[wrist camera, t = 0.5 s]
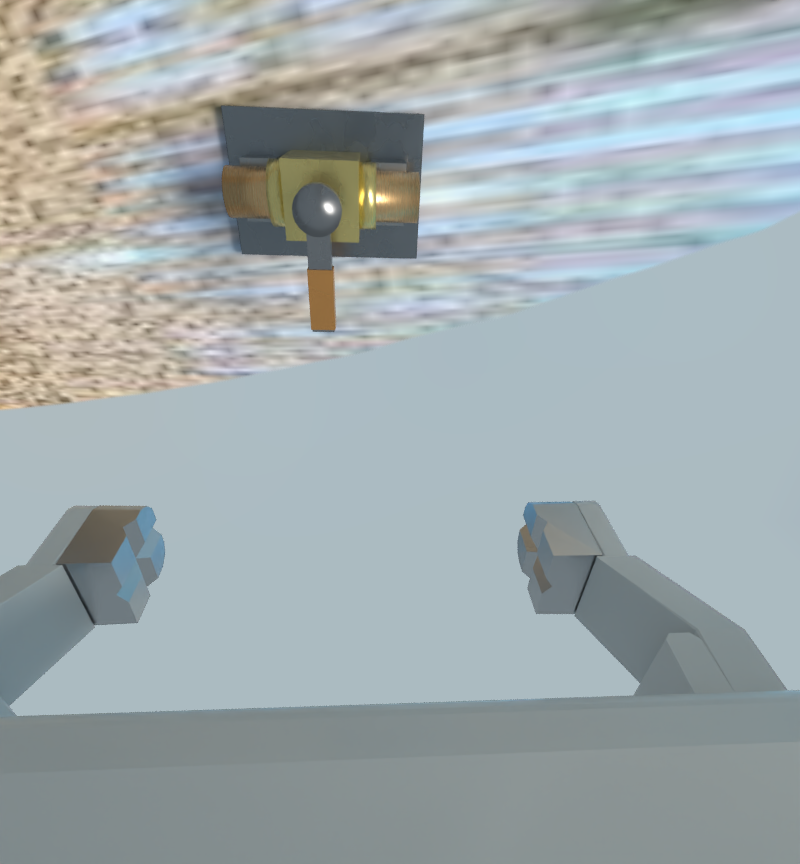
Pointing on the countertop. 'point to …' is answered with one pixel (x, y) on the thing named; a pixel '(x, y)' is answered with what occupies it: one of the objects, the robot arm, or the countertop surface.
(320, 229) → the lever
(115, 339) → the countertop surface
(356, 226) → the valve
